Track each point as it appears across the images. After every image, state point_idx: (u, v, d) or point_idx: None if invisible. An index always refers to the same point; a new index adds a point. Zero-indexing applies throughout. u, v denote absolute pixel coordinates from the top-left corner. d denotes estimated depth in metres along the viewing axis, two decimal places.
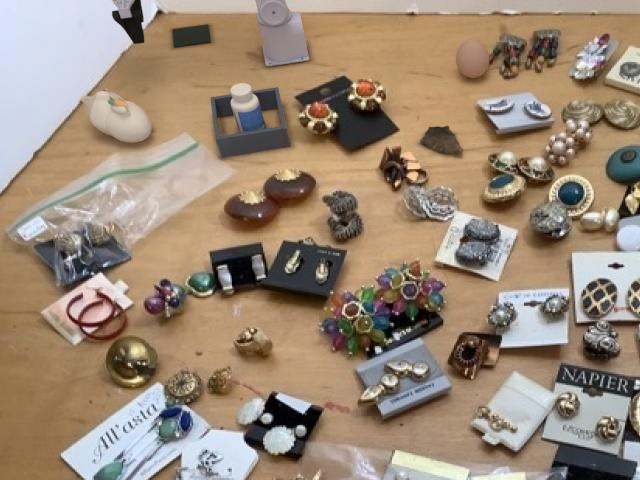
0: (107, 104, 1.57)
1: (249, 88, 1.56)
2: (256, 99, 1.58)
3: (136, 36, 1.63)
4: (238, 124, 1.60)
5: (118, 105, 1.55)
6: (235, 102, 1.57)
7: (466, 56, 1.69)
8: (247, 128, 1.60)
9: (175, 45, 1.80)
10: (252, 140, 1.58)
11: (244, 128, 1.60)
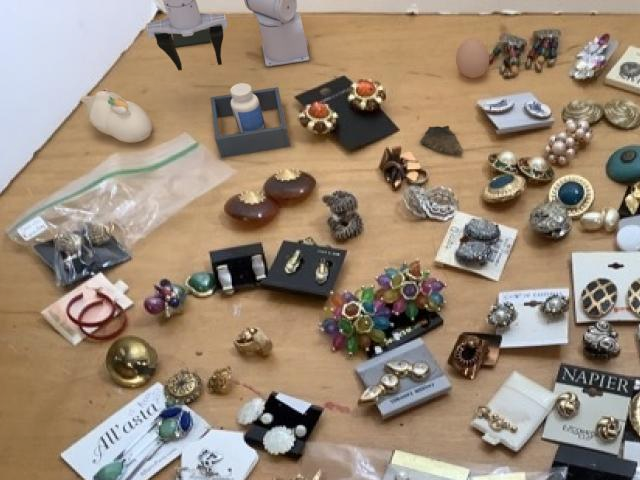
0: (107, 104, 1.57)
1: (249, 88, 1.56)
2: (256, 99, 1.58)
3: None
4: (238, 124, 1.60)
5: (118, 105, 1.55)
6: (235, 102, 1.57)
7: (466, 56, 1.69)
8: (247, 128, 1.60)
9: (175, 45, 1.80)
10: (252, 140, 1.58)
11: (244, 128, 1.60)
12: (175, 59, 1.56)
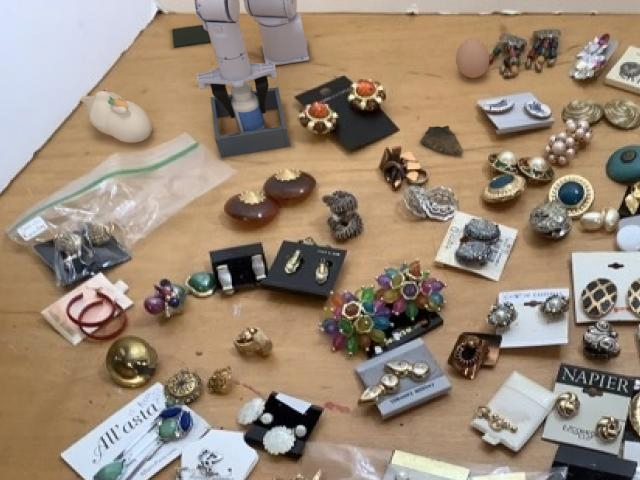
0: (107, 104, 1.57)
1: (249, 88, 1.56)
2: (256, 99, 1.58)
3: None
4: (238, 124, 1.60)
5: (118, 105, 1.55)
6: (235, 102, 1.57)
7: (466, 56, 1.69)
8: (247, 128, 1.60)
9: (175, 45, 1.80)
10: (252, 140, 1.58)
11: (244, 128, 1.60)
12: (229, 107, 1.57)
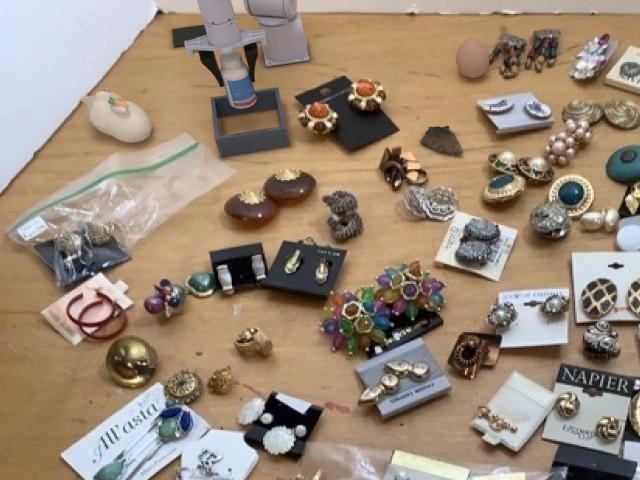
0: (107, 104, 1.57)
1: (239, 56, 1.53)
2: (246, 67, 1.55)
3: None
4: (228, 93, 1.57)
5: (118, 105, 1.55)
6: (224, 70, 1.53)
7: (466, 56, 1.69)
8: (237, 97, 1.57)
9: (175, 45, 1.80)
10: (252, 140, 1.58)
11: (234, 98, 1.57)
12: (218, 76, 1.53)
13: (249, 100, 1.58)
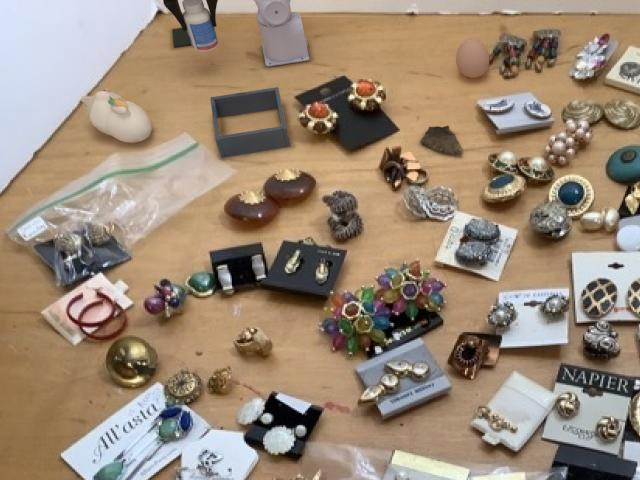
0: (107, 104, 1.57)
1: (200, 0, 1.63)
2: (207, 12, 1.65)
3: None
4: (191, 37, 1.67)
5: (118, 105, 1.55)
6: (187, 14, 1.64)
7: (466, 56, 1.69)
8: (199, 41, 1.67)
9: (175, 45, 1.80)
10: (252, 140, 1.58)
11: (197, 41, 1.67)
12: (181, 19, 1.64)
13: (211, 44, 1.69)
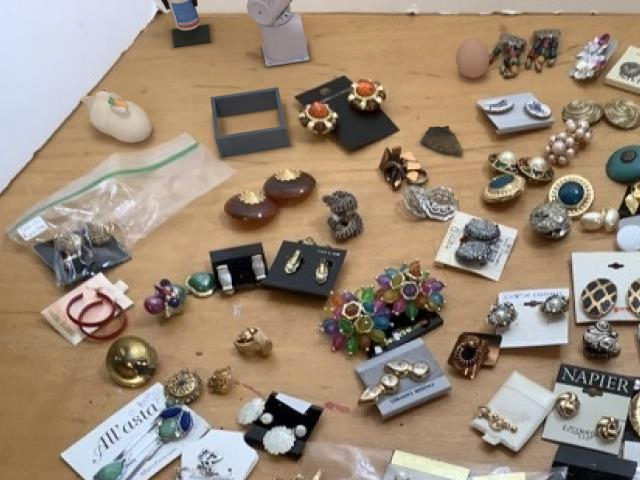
0: (107, 104, 1.57)
1: None
2: None
3: None
4: (173, 16, 1.77)
5: (118, 105, 1.55)
6: None
7: (466, 56, 1.69)
8: (181, 19, 1.77)
9: (175, 45, 1.80)
10: (252, 140, 1.58)
11: (178, 19, 1.77)
12: None
13: (192, 23, 1.78)
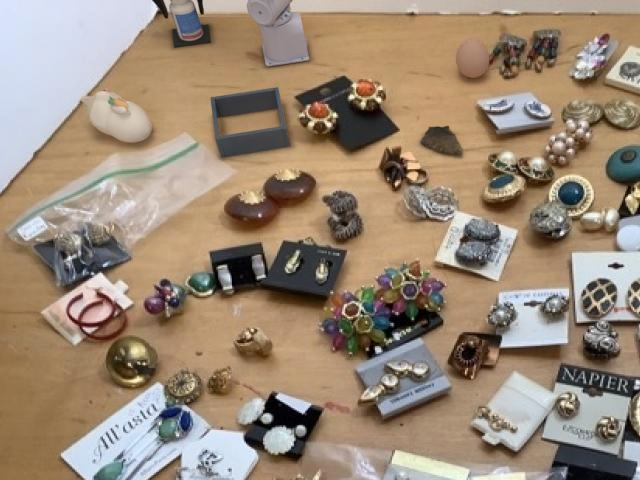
0: (107, 104, 1.57)
1: None
2: (192, 4, 1.77)
3: None
4: (176, 27, 1.79)
5: (118, 105, 1.55)
6: (173, 5, 1.76)
7: (466, 56, 1.69)
8: (184, 30, 1.79)
9: (175, 45, 1.80)
10: (252, 140, 1.58)
11: (182, 30, 1.79)
12: (162, 8, 1.75)
13: (195, 33, 1.80)
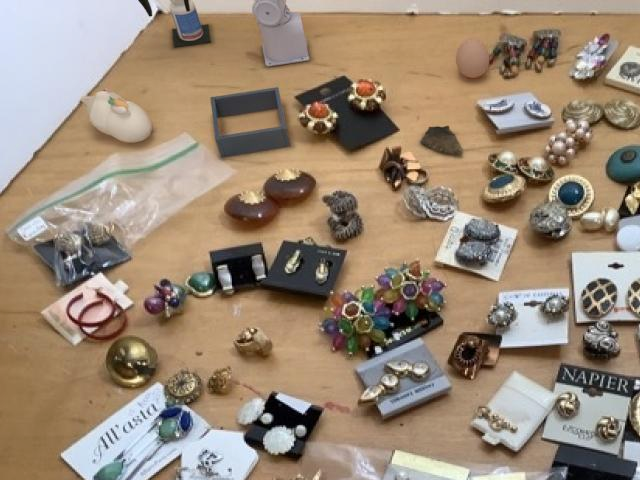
0: (107, 104, 1.57)
1: None
2: (192, 4, 1.77)
3: None
4: (176, 27, 1.79)
5: (118, 105, 1.55)
6: (173, 5, 1.76)
7: (466, 56, 1.69)
8: (184, 30, 1.79)
9: (175, 45, 1.80)
10: (252, 140, 1.58)
11: (182, 30, 1.79)
12: (145, 5, 1.67)
13: (195, 33, 1.80)
